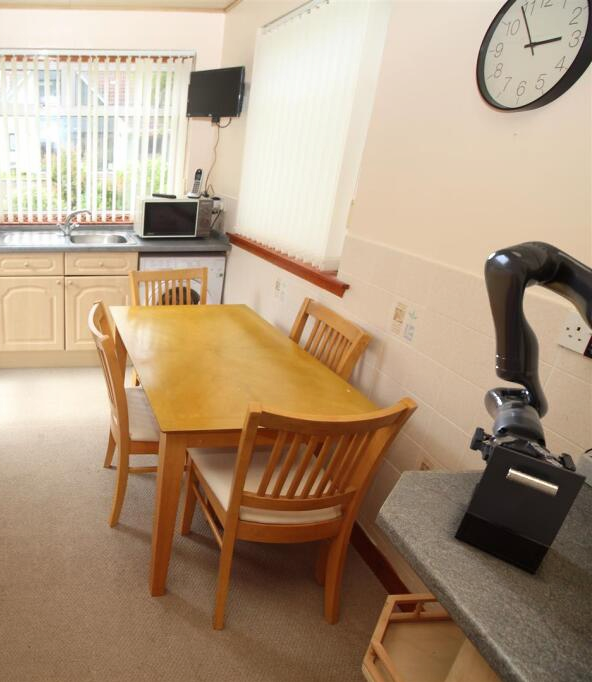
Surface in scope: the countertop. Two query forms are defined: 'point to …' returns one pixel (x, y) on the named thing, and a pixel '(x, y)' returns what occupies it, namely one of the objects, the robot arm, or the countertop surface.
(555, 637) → the countertop surface
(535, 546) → the box
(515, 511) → the warmer lid
